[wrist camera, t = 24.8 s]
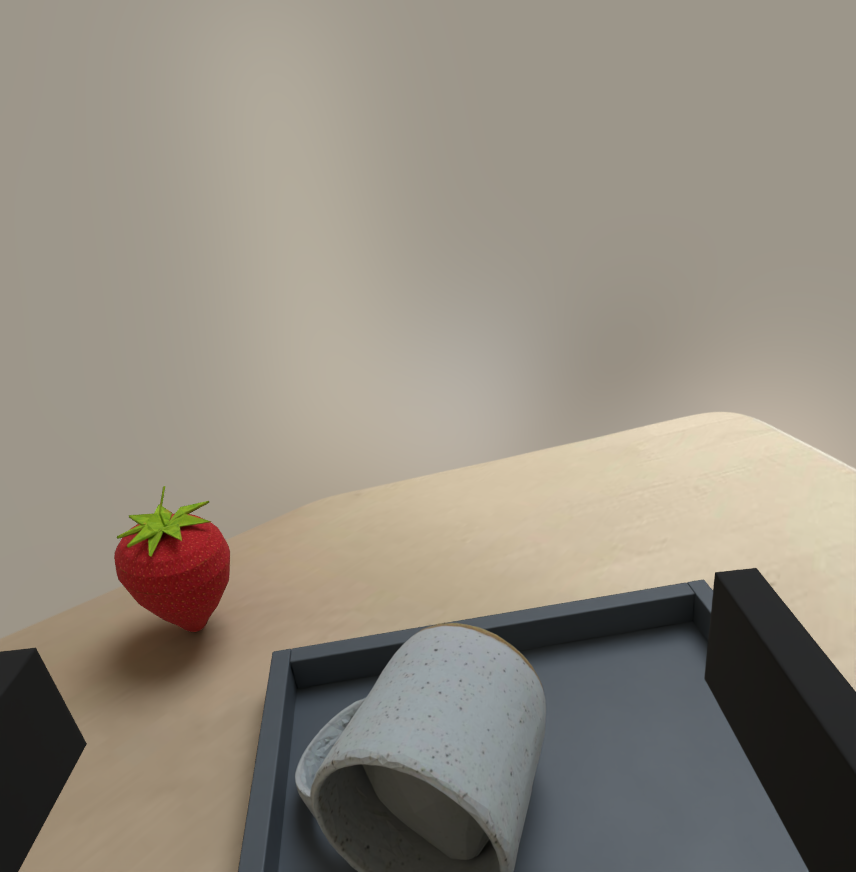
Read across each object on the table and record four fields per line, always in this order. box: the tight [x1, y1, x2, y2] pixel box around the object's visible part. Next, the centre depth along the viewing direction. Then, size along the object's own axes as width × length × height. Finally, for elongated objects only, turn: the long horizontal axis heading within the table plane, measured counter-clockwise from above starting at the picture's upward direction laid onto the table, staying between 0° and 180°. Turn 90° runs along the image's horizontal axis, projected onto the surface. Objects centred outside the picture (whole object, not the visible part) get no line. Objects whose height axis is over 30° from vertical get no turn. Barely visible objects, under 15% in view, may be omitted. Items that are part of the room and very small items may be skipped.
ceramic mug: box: [295, 623, 546, 872], centre depth 25 cm, size 11×8×8 cm
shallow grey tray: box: [238, 580, 809, 872], centre depth 24 cm, size 24×22×2 cm
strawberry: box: [114, 486, 230, 632], centre depth 37 cm, size 6×8×10 cm
